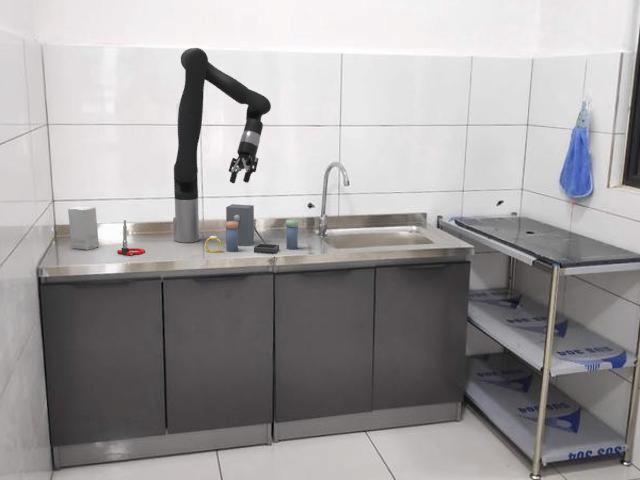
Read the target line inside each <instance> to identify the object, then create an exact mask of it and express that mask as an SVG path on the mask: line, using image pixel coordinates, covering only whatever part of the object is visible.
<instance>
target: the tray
mask: <svg viewBox="0 0 640 480" xmlns="http://www.w3.org/2000/svg"><path fill="white" fill-rule="evenodd" d="M278 250H279V251H280V244H270V243H258V244H257V245H255V246H254V247H253V253H254V254H255V253H256V254H268V255H275V254H276V253H277V252H278Z"/></svg>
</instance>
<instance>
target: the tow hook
mask: <svg viewBox="0 0 640 480" xmlns="http://www.w3.org/2000/svg"><path fill="white" fill-rule="evenodd" d="M122 230H123V231H122V234H123V235H122V238H123V240H122V247H121V248H120V249H121V250H120V249H117V252H116V253H117V254H119V255H123V256H129V257H132V256H134V255H144V254H145V253H146V249H144V248H139V247H138V248H137V247H128V240H127V238H128V236H127V233H128V231H127V230H128V227H127V220H125V219H124V220H123V226H122Z"/></svg>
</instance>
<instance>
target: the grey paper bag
mask: <svg viewBox="0 0 640 480" xmlns="http://www.w3.org/2000/svg"><path fill="white" fill-rule="evenodd" d="M96 208H97V207H95V206H83V205H78V206H75V207H71V208H69V207H68V208H67V214H68V223H69V224H68V225H69V233H70V242H71V249H77V250H78V249H79V250H86V251H89V250H93V249H96V248H98V247H100V243H99V232H98V231H99V230H98V222H97V209H96Z"/></svg>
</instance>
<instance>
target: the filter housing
mask: <svg viewBox="0 0 640 480" xmlns="http://www.w3.org/2000/svg"><path fill="white" fill-rule="evenodd" d="M254 207H255V205H254V204H253V205H251V204H250V205H249V204H236V203H235V204H233V203H232V204H230V205H228V206H226V207H225V210H226V212H225V215H226V216H225V217H226V221H225V222H227V221H237V222H238V246H245V247H249V246H250V245H252V244H254V243H255V237H254V236H255V235H254V233H255V232H254V231H255V226H254V225H255V223H254V222H255V220H254V219H255V215H254V214H255V212H254V211H255V208H254Z"/></svg>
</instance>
